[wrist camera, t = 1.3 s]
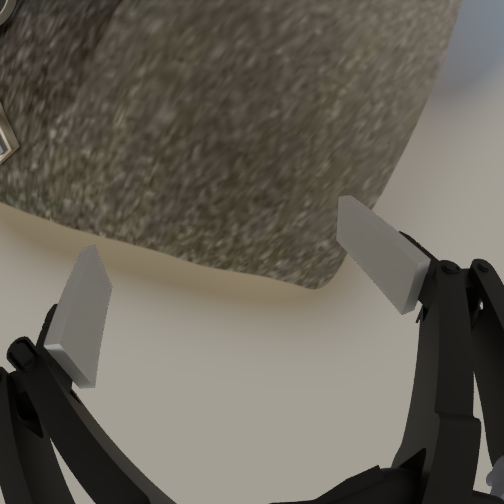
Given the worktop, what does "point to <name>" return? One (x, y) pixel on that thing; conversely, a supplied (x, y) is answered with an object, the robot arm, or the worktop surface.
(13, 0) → the decorative sign
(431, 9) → the worktop surface
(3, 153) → the tray
